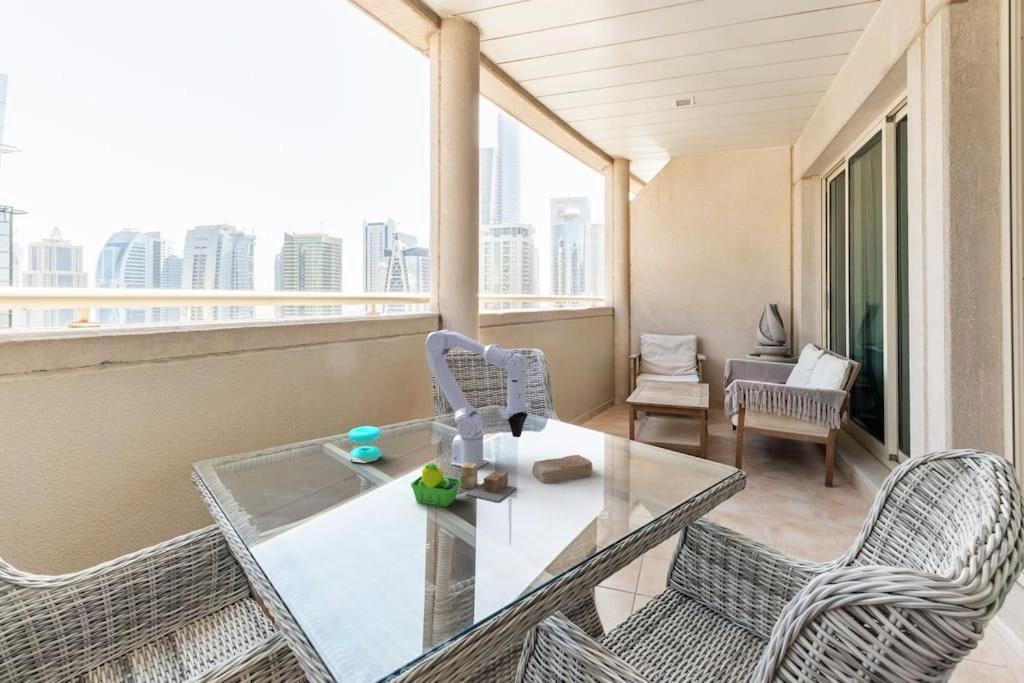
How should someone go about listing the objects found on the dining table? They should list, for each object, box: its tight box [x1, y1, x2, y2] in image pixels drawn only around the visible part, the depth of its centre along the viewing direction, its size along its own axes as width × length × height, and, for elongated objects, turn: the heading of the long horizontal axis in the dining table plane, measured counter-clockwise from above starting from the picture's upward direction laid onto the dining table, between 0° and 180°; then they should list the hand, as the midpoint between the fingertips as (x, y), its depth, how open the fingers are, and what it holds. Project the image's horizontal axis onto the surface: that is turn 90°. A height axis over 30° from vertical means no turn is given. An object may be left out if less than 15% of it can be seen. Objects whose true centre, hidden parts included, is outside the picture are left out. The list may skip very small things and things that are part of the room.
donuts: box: [348, 425, 382, 459], centre depth 162 cm, size 10×10×10 cm
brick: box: [531, 454, 593, 485], centre depth 148 cm, size 17×8×5 cm, turn 112°
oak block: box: [460, 462, 478, 490], centre depth 140 cm, size 4×4×6 cm
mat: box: [465, 482, 517, 504], centre depth 136 cm, size 10×10×1 cm
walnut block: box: [483, 469, 509, 493], centre depth 137 cm, size 4×4×7 cm
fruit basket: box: [410, 462, 461, 507], centre depth 129 cm, size 11×9×11 cm
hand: (516, 436), depth 153 cm, fingers closed
